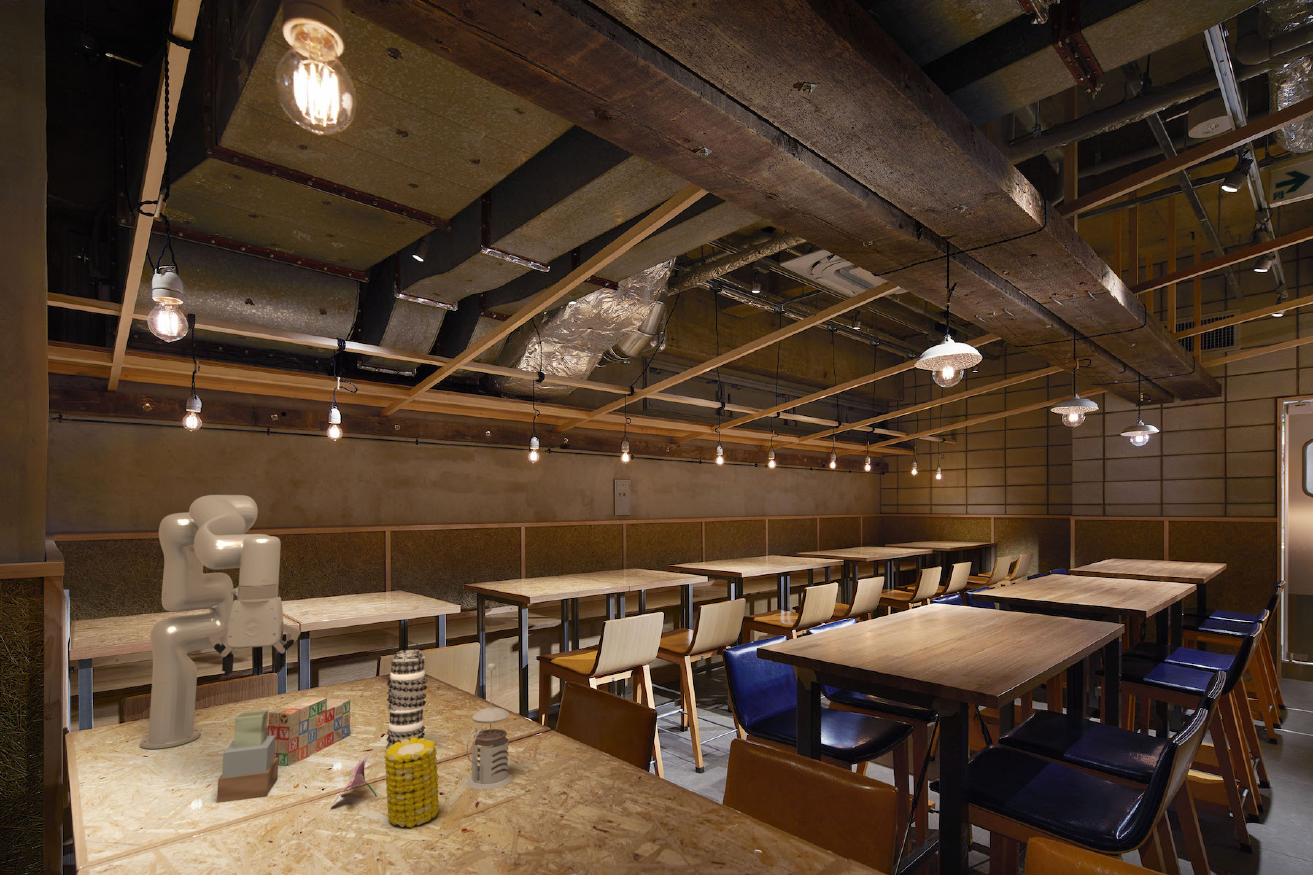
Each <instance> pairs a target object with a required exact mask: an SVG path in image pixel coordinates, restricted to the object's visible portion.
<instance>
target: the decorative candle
mask: <svg viewBox="0 0 1313 875" xmlns="http://www.w3.org/2000/svg"><path fill="white" fill-rule="evenodd" d="M426 657H427V656H426V655H425V654H423V652H422V651H421V650H419V649H404V650H400V651H398V652H396V653H395V654H394V656H393V657H391V659H390V661H391V663H390V664H391V667H390V668H391V669H390V675H389V676H387V679H386V680H388V681H387V683H386V685H387V687H388V690H387V692H386V694H387V695H388V696H387V699H386V701H388V706H387V711H388V712H389V722H388V729H387V731H386V734H387V737H386V741H387V744H386V746H385V749H389V747H390V746H391V745H394V744H395V743H396V742H400V743H401V741H403V740H404V739H409V740H410V739H411V738H412V737H414V738H418V739H420V738H424V737H425V734H426V733H425V732H424V731H425V729H426V727H425V724H424V720H425V718H424V716H423V715H424V709H425V707H426V703H427V701H426V700H424V699H425V698H427V694H426V693H424V691H425V690H427V689H428V686H427V685H425V684H427V683H428V679H427V678H426V677H425V676H426V669H425V659H426Z"/></svg>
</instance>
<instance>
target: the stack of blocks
mask: <svg viewBox="0 0 1313 875" xmlns="http://www.w3.org/2000/svg"><path fill="white" fill-rule="evenodd" d="M350 731H351V699H339V698H337V699H336V698H329V699H328V698H327V697H311V696H306V697H303V698H300V699H298V700H296V701H292V702H290V703H288V704H286V705H283V706H281V707H279V708H274V709H273V710H270V711H268V727H267V736H273V735H275V751H274V758H278V757H279V758H278V767H286V766H288V767H290V766H292V765H294V764H296V763H298V761H299V762H300V761H301V762H302V760H304V759H307V758H309V757H311V756H312V755H314V754H316V753H318V752H319V750H320V751H321V750H323V748H324V749H325V748H327V747H329V746H331V745H332V744H335V743H337V742H339V741H341V740H342V739H345V738H347V737H349V736H350ZM313 753H314V754H313ZM310 755H311V756H310Z"/></svg>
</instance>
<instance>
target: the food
mask: <svg viewBox="0 0 1313 875" xmlns="http://www.w3.org/2000/svg"><path fill="white" fill-rule="evenodd" d="M385 749H386V748H385ZM436 749H437V748H436V743H435V741H434V740H430V739H427V740H426V739H425V738H424V737H423V738H420V739H418V738H414V737H412V738H411V739H410V740H409V739H404V740H403V741H401V743H400V742H396V743H395V744H394V745H391V746H390V747H389V749H386V750H385V755H384V758H385V759H384V764H385V766H384V768H385V774H384V776H385V777H386V778H385V779H384V780H385V785H386V789H385V793H386V800H387V801H386V803H387V816H388V817H387V818H388V822H389V823H391V824H392V825H393V826H396V825H398V826H400V827H401V828H403V827H405V826H406V828H410V829H412V828H413V827H414V826H420V825H422V824H424V823H426V822H427V823H428V822H429V821H431V819H434V818H436V816H437V814H438V813H439V810H440V807H439V805H440V801H439V783H438V782H439V775H438V768H439V767H438V766H437V765H438V763H437V762H438V760H437V759H438V758H437V756H436V755H437V751H436Z"/></svg>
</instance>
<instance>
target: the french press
mask: <svg viewBox="0 0 1313 875" xmlns="http://www.w3.org/2000/svg"><path fill="white" fill-rule="evenodd" d="M486 669H487V670H489V671H490V707H485V708H482V709H481V710H479V711H477V712H476V713H474V714H473V715H472V716H471V719H472V721H474V722H475V723H478V724H490V725H489V728H488V729H483V728H479V730H477V727H473V729H472V730H471V731H470V734H469V736H468V738H467V744H466V756H467V760H468V761H469V762H471V775H470V777H469V778H468V779H467V781H466V785H467V786H468V788H469V787H470V788H471V789H474V790H480V791H486V790H494V789H495V790H496V789H499V788H502V787H505V786H506V785H509V783H511V782H512V780H513V776H512V775H511V773H509V770H508V769H509V764H508V763H509V758H508V757H509V752H508V751H509V738H507V734H508V733H507V731H505V730H504V729H498V728H492V723H499V722H502V721H505V720H506V719H507V718H509V716H510V712H509V711H507V710H506V709H503V708H500V707H495V706H492V703H493V702H492V701H493V700H492V699H493V697H492V696H493V691H492V690H493V670H496V669H497V664H495V663H489V664H488V665H487V668H486ZM474 730H475V734H474V735H473V739H474V740H473V741H472V747H471V748H472V751H471V754H472V755H471V759H470V755H469V741H470V738H471V735H472V734H473V731H474ZM478 746H481V747H478ZM491 746H492V747H491ZM478 752H479V753H478ZM478 758H480V759H478Z"/></svg>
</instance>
